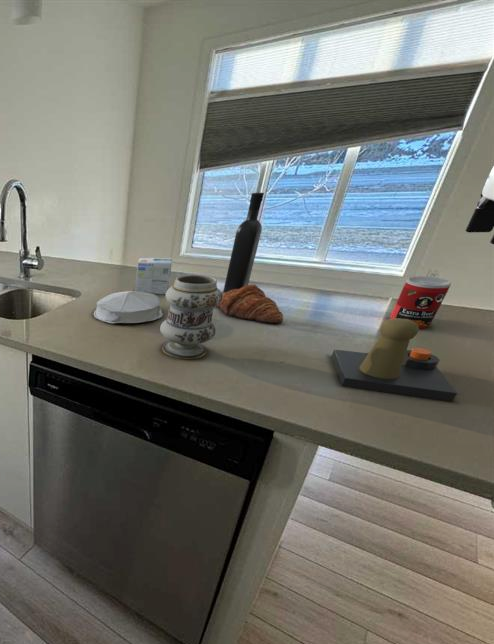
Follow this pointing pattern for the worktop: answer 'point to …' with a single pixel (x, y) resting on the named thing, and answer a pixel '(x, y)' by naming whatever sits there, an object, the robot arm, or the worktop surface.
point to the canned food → (420, 299)
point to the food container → (128, 307)
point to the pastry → (250, 305)
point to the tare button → (420, 354)
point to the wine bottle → (245, 247)
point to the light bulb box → (153, 275)
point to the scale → (412, 380)
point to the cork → (390, 349)
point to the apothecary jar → (190, 315)
